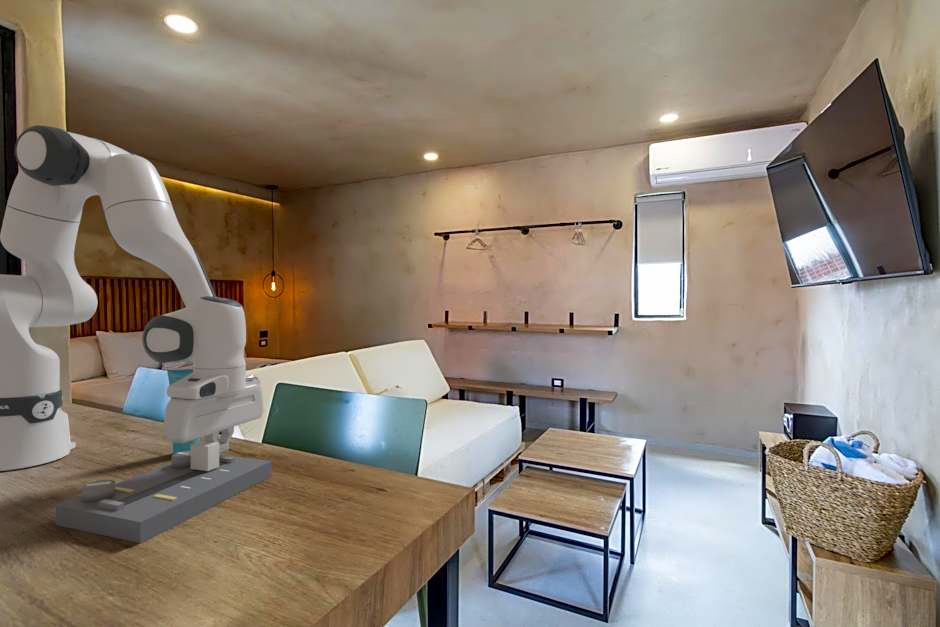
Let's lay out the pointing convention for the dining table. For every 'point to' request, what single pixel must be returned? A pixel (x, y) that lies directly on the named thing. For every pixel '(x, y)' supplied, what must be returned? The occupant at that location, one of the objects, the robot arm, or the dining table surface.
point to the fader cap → (205, 455)
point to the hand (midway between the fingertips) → (219, 452)
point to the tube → (173, 377)
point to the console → (158, 497)
